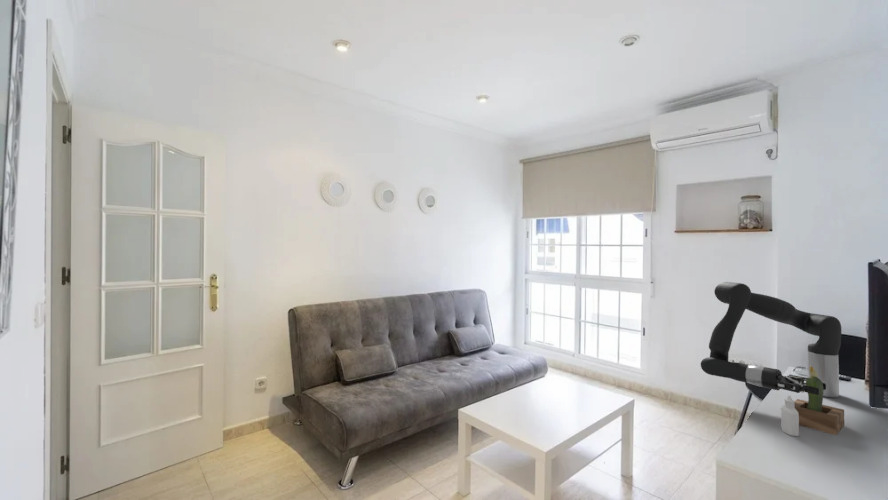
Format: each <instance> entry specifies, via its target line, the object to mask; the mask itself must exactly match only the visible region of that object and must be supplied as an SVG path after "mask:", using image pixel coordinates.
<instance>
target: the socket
mask: <svg viewBox="0 0 888 500" xmlns="http://www.w3.org/2000/svg"><path fill="white" fill-rule="evenodd" d="M794 401H795V407H794V408H795V409H796V410H797V411H798V414H799V426H801V427H805V428H808V429H813V430H816V431H819V432H822V433H823V432H824V433H826V434H827V433H828V434H830V435H834V436H836V435H838V433H839V432H840V431H841V430H842V429H843V428H844V427H845V409H842V408H839V407H834V406H829V405H826V404H822V412H818V411H814V410H810V409H807V406H808V400H804V399H800V398H797V399H795V400H794Z"/></svg>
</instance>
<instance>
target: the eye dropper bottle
mask: <svg viewBox="0 0 888 500" xmlns="http://www.w3.org/2000/svg"><path fill="white" fill-rule="evenodd" d="M795 401H796V400H793V398H792V396H791V395H788V396H787V398H785V399H784V405H782V406H781V407H780V415H781V416H780V417H781V418H780V422H781V423H780V424H781V427H780V429H781V431H782V432H784V433H785V434H787V435H789V436H792V437H800V425H799V414H798V411H797V410H796V409H795V408H794V407H795Z"/></svg>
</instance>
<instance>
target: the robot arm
mask: <svg viewBox="0 0 888 500" xmlns="http://www.w3.org/2000/svg"><path fill="white" fill-rule="evenodd" d="M714 296H715V297H716V299H717V300H718V301H720V302H721V303H723V304H727V305H728V307H727V311H726V313H725V315H724V316H723V317H722V318H721V320H720V321H719V322H718V323H717V324H716V325H715V327H714V329H713V330H712V332H711V336H710V340H709V342H708V348H709V351H710V354H709V357H705V358H703V359H701V362H700V369H702V371H703V372H704V373H705V374H707V375H710V376H716V377H720V378H726V379H731V380H734V381H738V382H742V383H747V384H750V385H753V386H757V387H762V388H765V389H769V390H774V391H780V390H785V391H790V392H793V393H797V394H799V393H807V394H808V393H811V394H816V395H819V394H820V389H819V388H816V387H811V386H806V380H807V379H808V378H809V377H811V376H810V369H809V368H810V367H811V366H812V367H813V368H814V369H815V371H816V372H817V375H818V376H817V378H819V379H820V380H821V381H822V383H823V397H826V398H839V397H840V375H839V374H840V373H839V372H840V371H839V370H840V368H839V367H840V365H839V364H840V363H839V352H840V349H841V347H842V345H841V344H842V324H841V321H840V320H839V319H838V318H837V317H835V316H832V315H828V314H819V313H814V312H812V313H811V312H807V311H802V310H800V309H797V308H796V307H795V306H794V305H793V304H792V303H790V302H788V301H785V300H784V299H781V298H778V297H774V296H771V295H767V294H761V293H755V292H752V290H751V288H750V286H748V285H747V284H745V283H742V282H741V283H740V282H731V281H729V282H728V281H726V282H721V283H718V284H717V285H716V286H715V288H714ZM746 310H747V311H750V312H752V313H754V314H756V315H759V316H762V317H764V318H766V319H769V320H772V321H774V322H778V323H781V324H785V325H790V326H793V327H795V328H796V329H798V330H800V331H802V332H805V333H807V334H809V335H812V336H817V337H818V342H815V343H810V344H808V345H807V376H808V377H805V376H799V375H794V374H788V375H787V376H785V375H783V374H782V371H781V370H780V369H776V368H772V367H766V366H761V365H753V364H748V363H741V362H733V361H729V352H730V350H731V347H732V341H733V338H734V335H735V332H736V329H737V328H738V325H739V323H740V321H741V319H742V317H743V315H744V313H745V311H746Z"/></svg>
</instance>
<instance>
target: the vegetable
mask: <svg viewBox="0 0 888 500" xmlns="http://www.w3.org/2000/svg"><path fill="white" fill-rule="evenodd" d="M809 369H810V376H811V377H809V378H808V377H807V378H808V379H807V380H806V381H805V383H806V386H811V387H816V388H819V389H820V394H819V395H816V394H811V393H807V395H808V397H807V398H808V399H807V401H808V406H807V409H810V410H814V411H818V412H822V405H823V401H824V396H823V383H822V381H821V380H820V379H819V378H817V376H818V375H817V372H816V371H815V369H814V368H813V367H812V366H811V367H810V368H809Z"/></svg>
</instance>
